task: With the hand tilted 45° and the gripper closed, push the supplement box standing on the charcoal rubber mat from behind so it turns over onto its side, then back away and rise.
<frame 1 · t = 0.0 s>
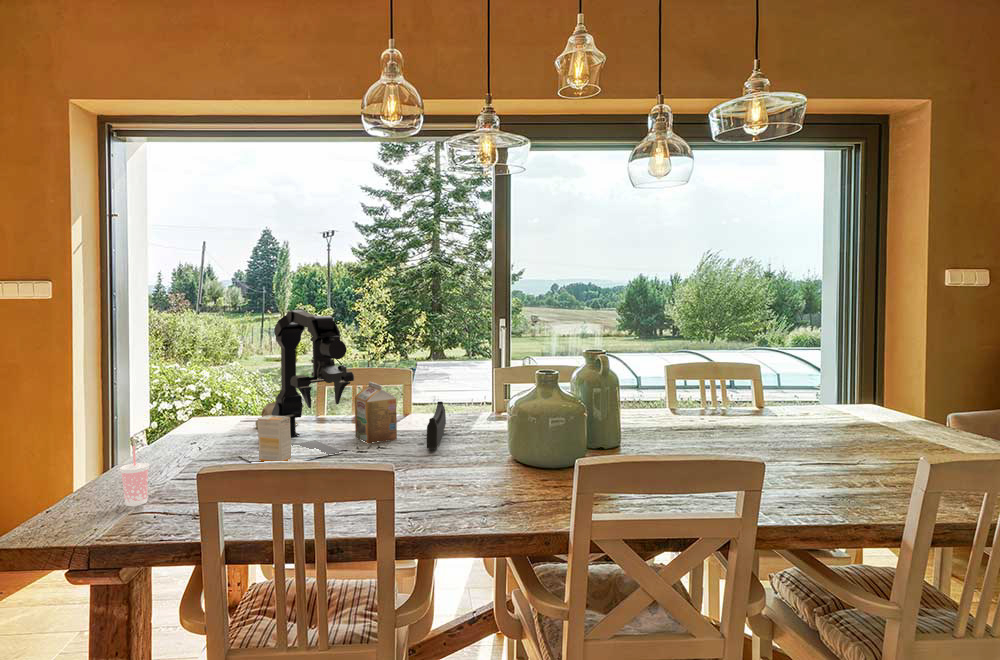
hand: (323, 406, 190), 15 cm above the table, tool pointing down, fingers open, 9 cm apart
rubber mat: (291, 454, 188), on the table
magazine: (436, 441, 206), on the table
milk carton: (376, 439, 208), on the table
supplement box: (275, 461, 179), resting on rubber mat
ceramic model: (277, 427, 225), on the table
beverage cup: (136, 503, 147), on the table
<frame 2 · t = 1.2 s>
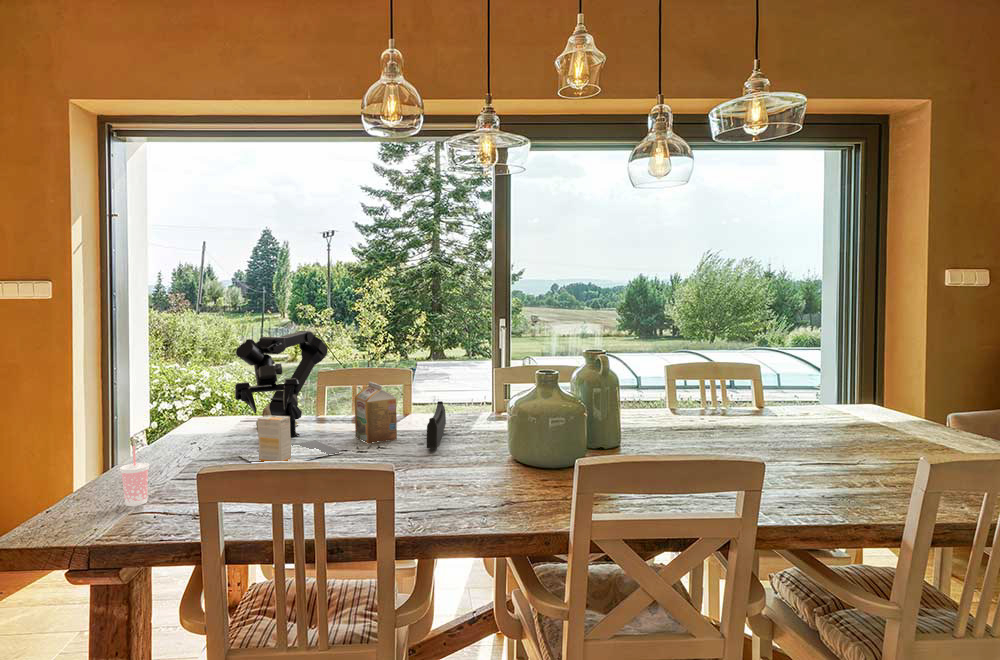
hand: (270, 410, 189), 13 cm above the table, tool tilted 45°, fingers open, 8 cm apart
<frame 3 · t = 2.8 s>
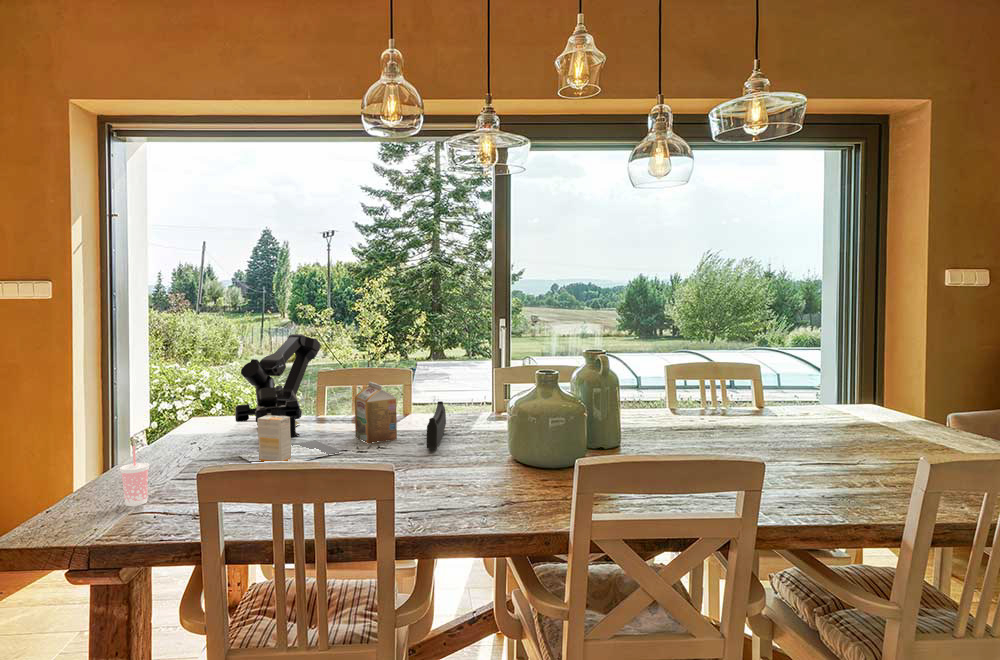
hand: (270, 433, 187), 7 cm above the table, tool tilted 45°, fingers closed
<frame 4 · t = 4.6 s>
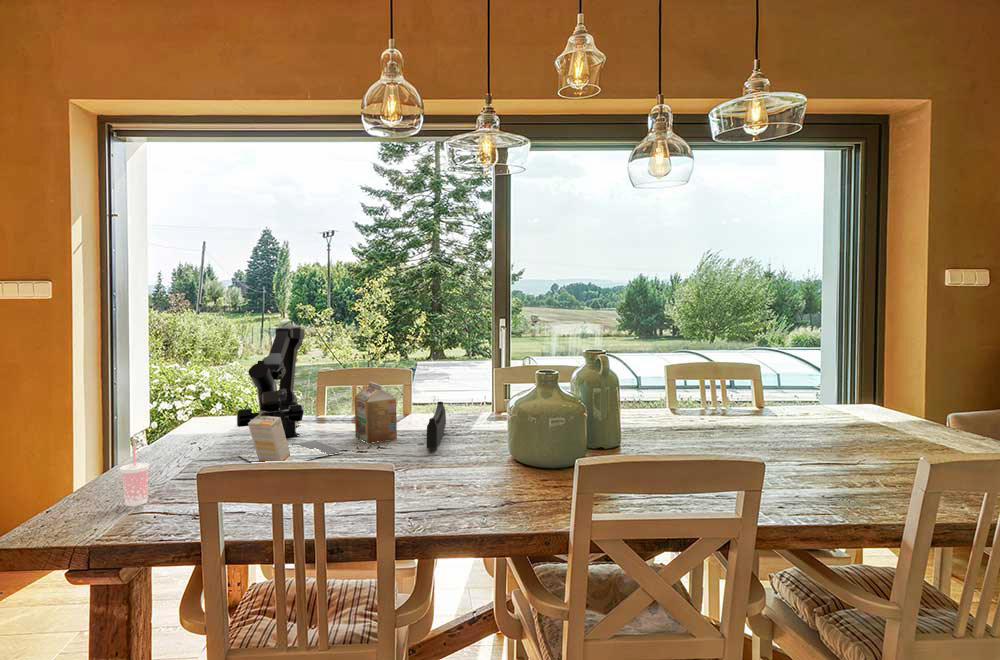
hand: (273, 438, 180), 7 cm above the table, tool tilted 45°, fingers closed
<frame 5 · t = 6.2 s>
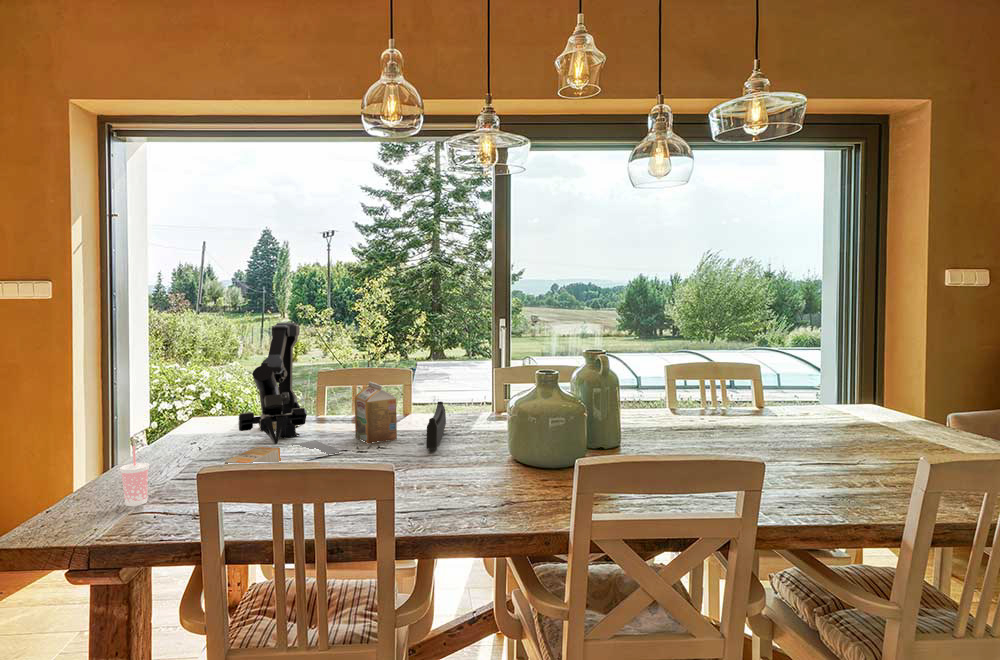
hand: (276, 443, 176), 7 cm above the table, tool tilted 45°, fingers closed
supplement box: (269, 453, 177), point 3 cm above the table, touching rubber mat
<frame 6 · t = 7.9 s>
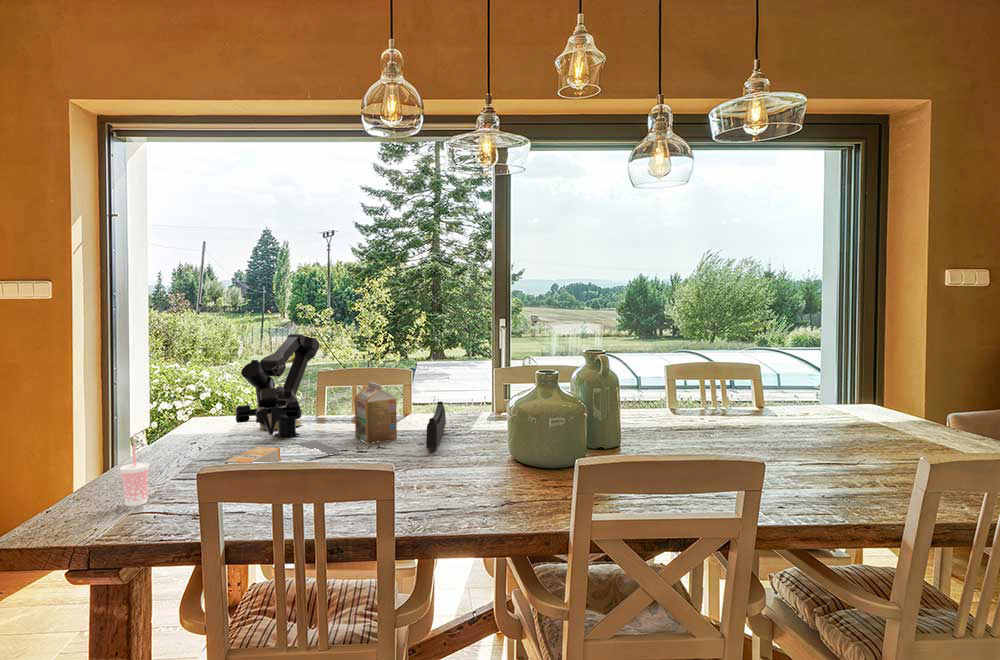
hand: (271, 434, 187), 7 cm above the table, tool tilted 45°, fingers closed
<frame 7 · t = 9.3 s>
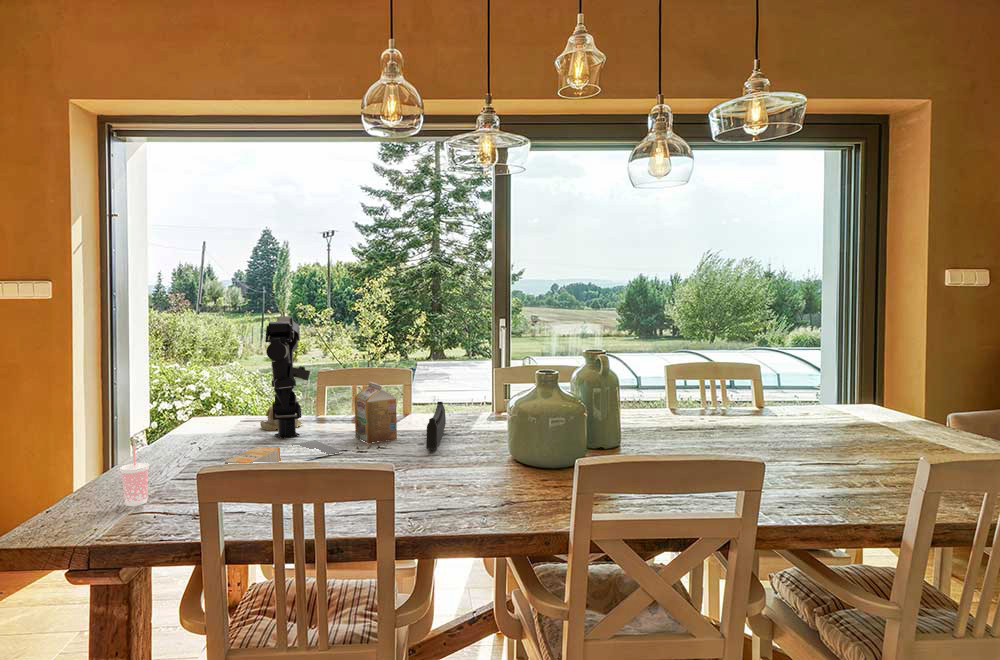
hand: (285, 409, 194), 13 cm above the table, tool pointing down, fingers closed
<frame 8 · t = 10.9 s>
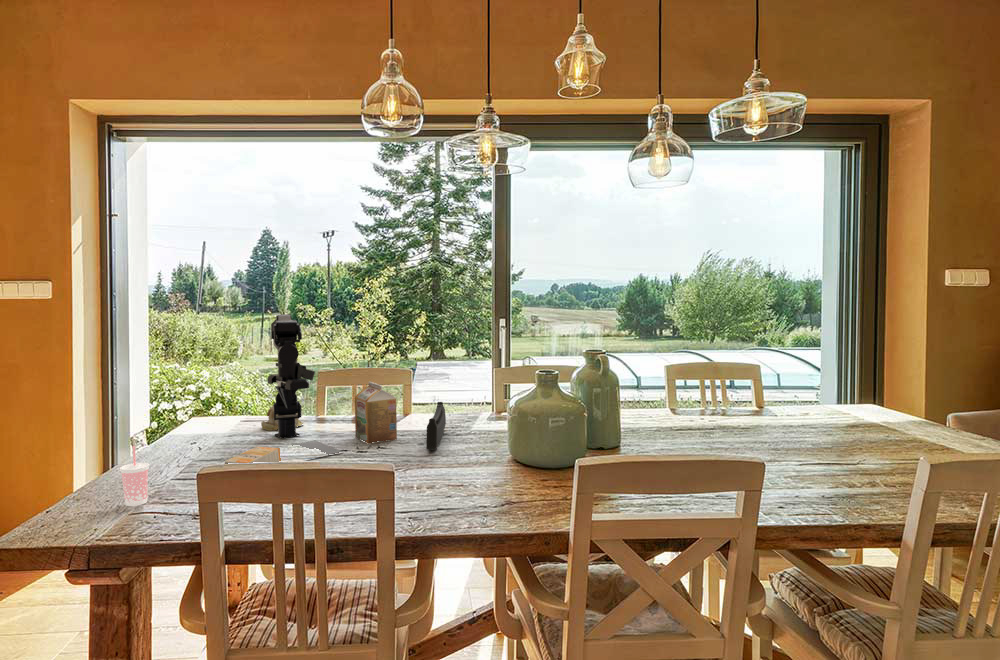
hand: (288, 408, 195), 13 cm above the table, tool pointing down, fingers closed
at the end: supplement box tilted 94°; supplement box inside the target area (2.1 cm from its centre), point 3.3 cm above the table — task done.
